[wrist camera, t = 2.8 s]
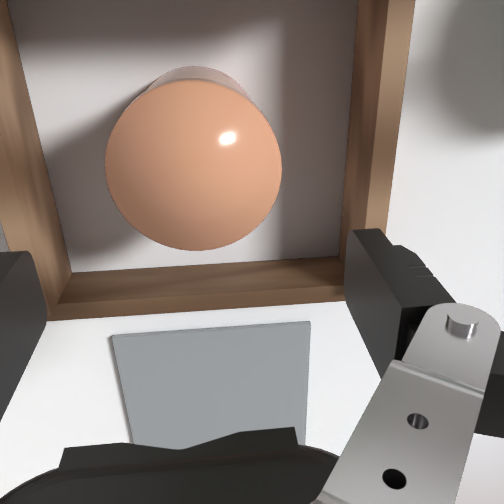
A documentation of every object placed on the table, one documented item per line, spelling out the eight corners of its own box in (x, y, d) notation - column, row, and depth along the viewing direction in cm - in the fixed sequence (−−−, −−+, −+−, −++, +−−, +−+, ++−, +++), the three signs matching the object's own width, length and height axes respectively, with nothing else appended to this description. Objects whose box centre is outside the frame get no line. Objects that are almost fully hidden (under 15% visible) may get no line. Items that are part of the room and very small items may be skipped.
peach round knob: (118, 61, 21) (89, 85, 16) (263, 56, 22) (282, 78, 17) (138, 197, 25) (119, 255, 19) (265, 191, 25) (281, 245, 20)
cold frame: (-39, -77, 19) (-159, -108, 12) (388, -83, 20) (470, -115, 14) (57, 289, 27) (13, 378, 21) (354, 269, 28) (396, 349, 22)
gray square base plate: (112, 335, 29) (111, 338, 28) (309, 321, 29) (310, 324, 29) (139, 465, 35) (139, 469, 34) (303, 451, 35) (304, 454, 35)
